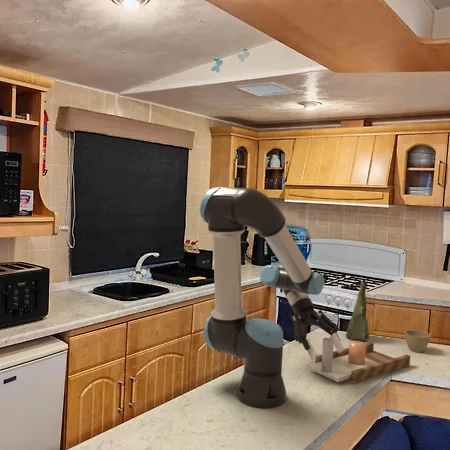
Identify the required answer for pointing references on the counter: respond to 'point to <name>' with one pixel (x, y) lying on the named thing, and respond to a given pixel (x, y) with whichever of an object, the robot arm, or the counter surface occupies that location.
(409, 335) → the flower pot
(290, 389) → the counter surface
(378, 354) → the tray
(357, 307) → the olive tapered piece
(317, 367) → the cream flat panel
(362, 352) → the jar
